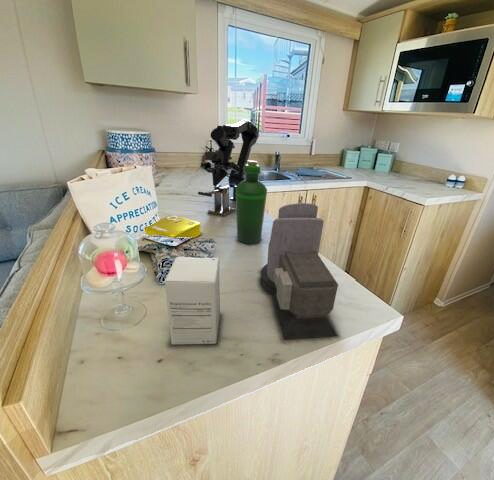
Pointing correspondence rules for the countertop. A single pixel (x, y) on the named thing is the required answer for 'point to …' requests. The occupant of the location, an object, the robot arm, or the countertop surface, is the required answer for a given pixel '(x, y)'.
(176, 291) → the white product box
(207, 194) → the tap lever
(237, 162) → the robot arm
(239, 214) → the bottle
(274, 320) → the countertop surface
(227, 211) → the tap bracket
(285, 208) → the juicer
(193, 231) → the element tile
